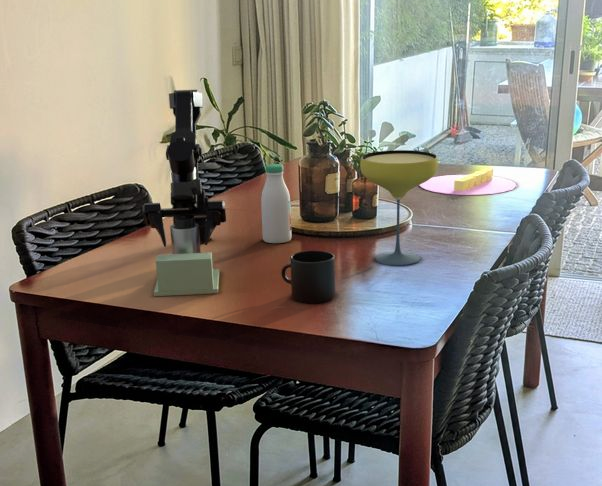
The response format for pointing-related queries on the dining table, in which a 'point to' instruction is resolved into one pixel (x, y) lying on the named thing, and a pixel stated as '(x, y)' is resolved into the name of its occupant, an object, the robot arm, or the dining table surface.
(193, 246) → the steel travel tumbler
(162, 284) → the pale green butter dish
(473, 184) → the platter
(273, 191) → the milk bottle
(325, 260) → the mug
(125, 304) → the dining table surface
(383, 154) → the cocktail glass
